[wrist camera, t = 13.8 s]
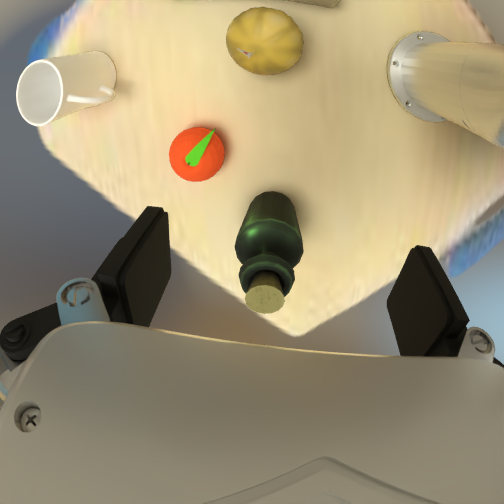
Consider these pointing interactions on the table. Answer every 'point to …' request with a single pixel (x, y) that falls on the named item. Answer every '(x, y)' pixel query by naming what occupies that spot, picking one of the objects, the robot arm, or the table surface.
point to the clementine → (196, 154)
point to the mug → (64, 86)
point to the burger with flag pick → (264, 41)
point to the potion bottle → (268, 251)
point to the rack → (319, 2)
